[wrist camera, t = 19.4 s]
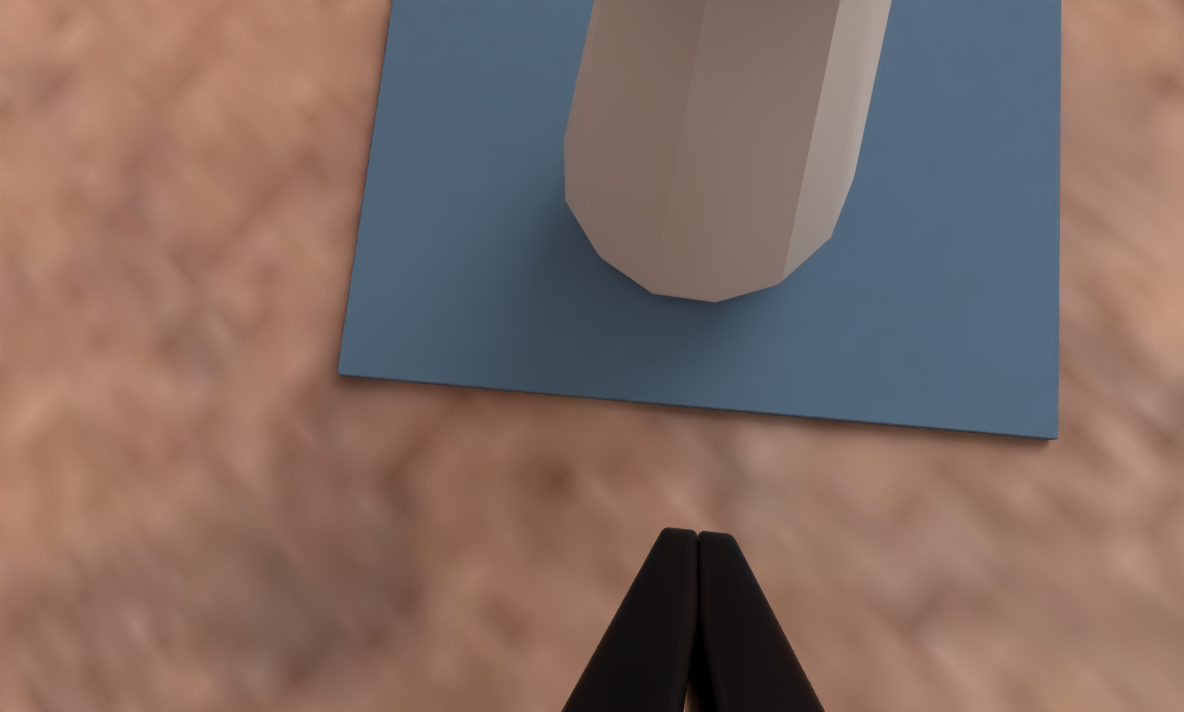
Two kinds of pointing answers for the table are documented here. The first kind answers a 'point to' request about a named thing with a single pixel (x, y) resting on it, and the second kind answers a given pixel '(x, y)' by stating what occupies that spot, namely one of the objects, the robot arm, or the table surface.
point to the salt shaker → (718, 136)
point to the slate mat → (747, 322)
